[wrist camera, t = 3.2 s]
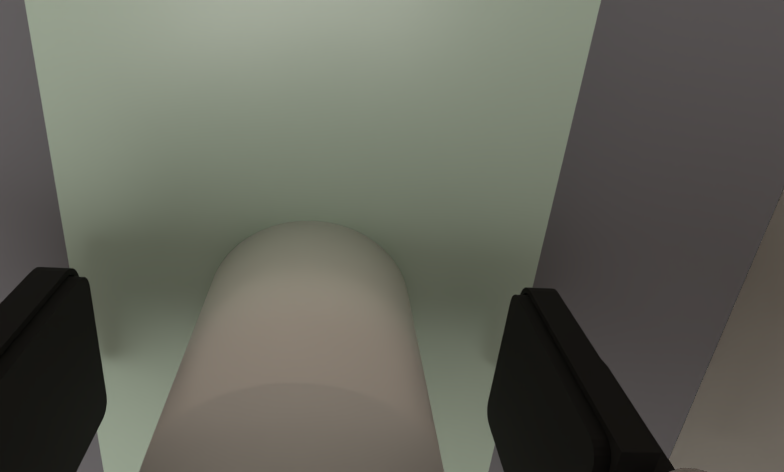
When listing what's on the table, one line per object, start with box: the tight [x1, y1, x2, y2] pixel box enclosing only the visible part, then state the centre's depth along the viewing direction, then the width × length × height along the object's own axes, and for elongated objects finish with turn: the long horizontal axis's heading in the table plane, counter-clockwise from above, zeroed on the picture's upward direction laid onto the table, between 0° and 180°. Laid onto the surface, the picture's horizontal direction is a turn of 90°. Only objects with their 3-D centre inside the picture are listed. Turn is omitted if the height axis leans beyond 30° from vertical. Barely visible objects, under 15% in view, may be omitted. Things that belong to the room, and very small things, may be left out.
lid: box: [24, 0, 601, 472], centre depth 10 cm, size 9×15×6 cm, turn 174°
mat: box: [0, 0, 784, 472], centre depth 13 cm, size 20×20×1 cm
